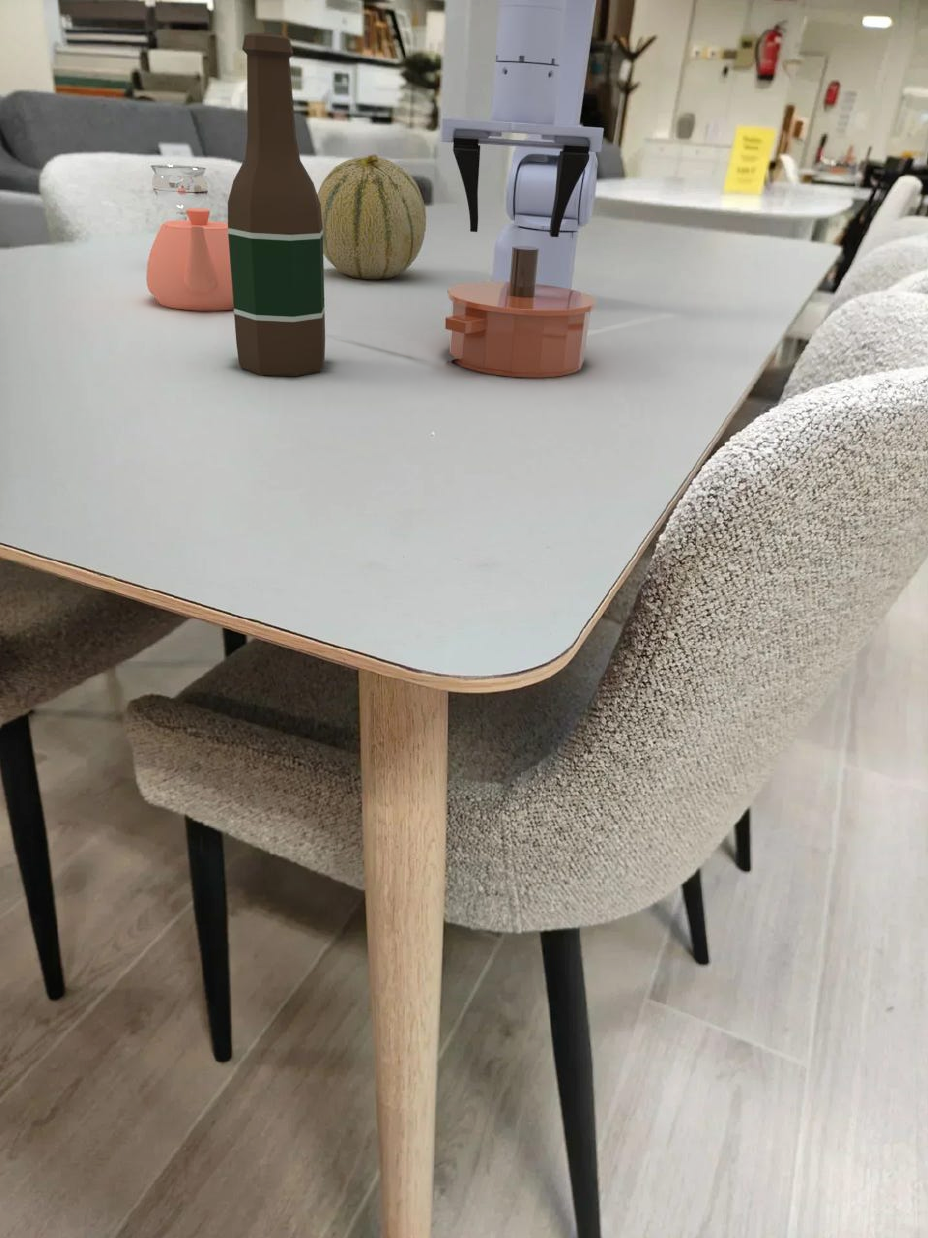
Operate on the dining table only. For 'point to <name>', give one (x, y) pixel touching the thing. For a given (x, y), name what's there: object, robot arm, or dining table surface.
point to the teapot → (191, 264)
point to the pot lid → (522, 292)
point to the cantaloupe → (371, 218)
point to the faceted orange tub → (517, 342)
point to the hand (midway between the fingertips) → (513, 233)
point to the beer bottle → (275, 228)
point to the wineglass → (180, 187)
